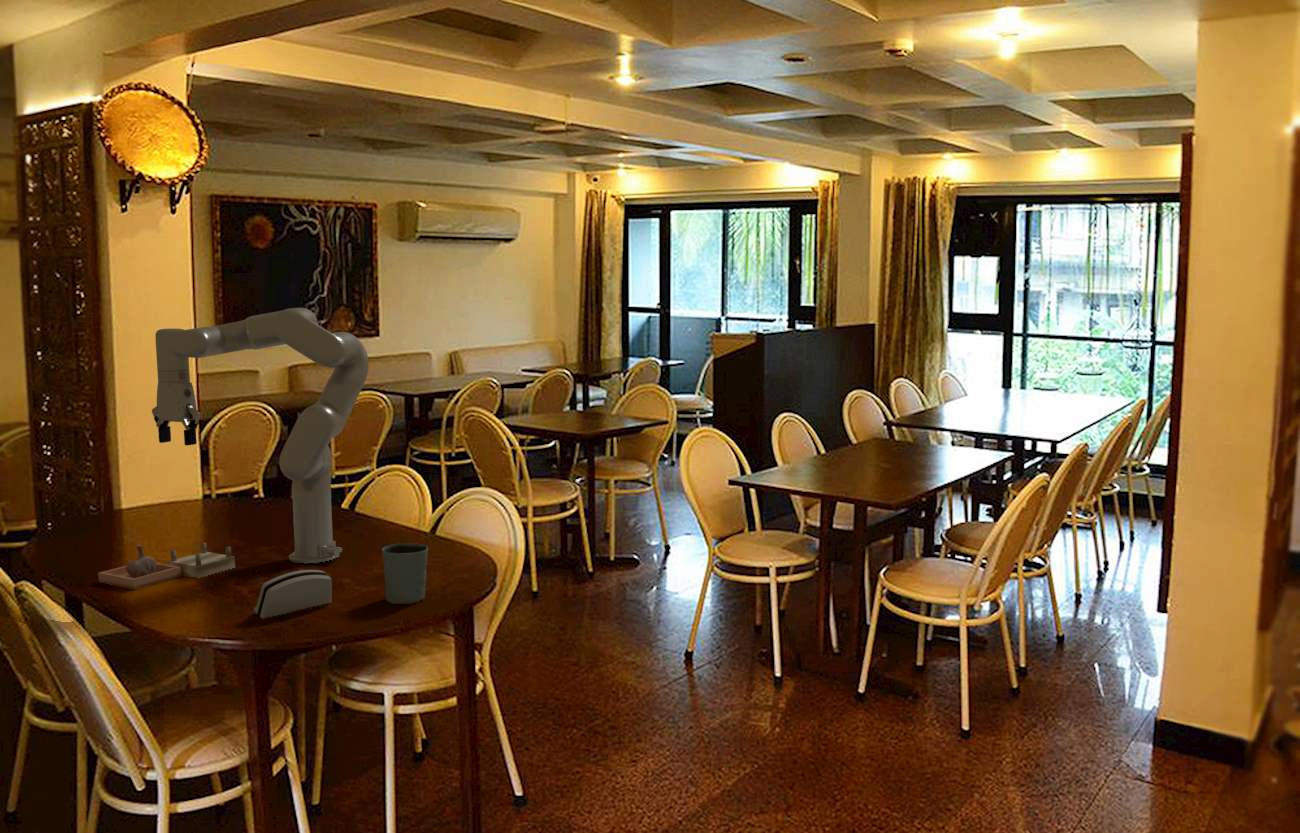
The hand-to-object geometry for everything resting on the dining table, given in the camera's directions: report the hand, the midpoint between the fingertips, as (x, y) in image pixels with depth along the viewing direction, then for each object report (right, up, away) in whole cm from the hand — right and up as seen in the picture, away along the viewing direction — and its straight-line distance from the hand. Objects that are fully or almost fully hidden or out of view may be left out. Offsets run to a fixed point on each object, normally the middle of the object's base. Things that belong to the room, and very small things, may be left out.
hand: (177, 443), depth 286 cm
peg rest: (+9, -32, -8) cm, 34 cm away
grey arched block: (+43, -36, -41) cm, 70 cm away
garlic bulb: (-2, -32, -16) cm, 36 cm away
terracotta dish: (-2, -33, -16) cm, 37 cm away
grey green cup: (+66, -35, -33) cm, 82 cm away
